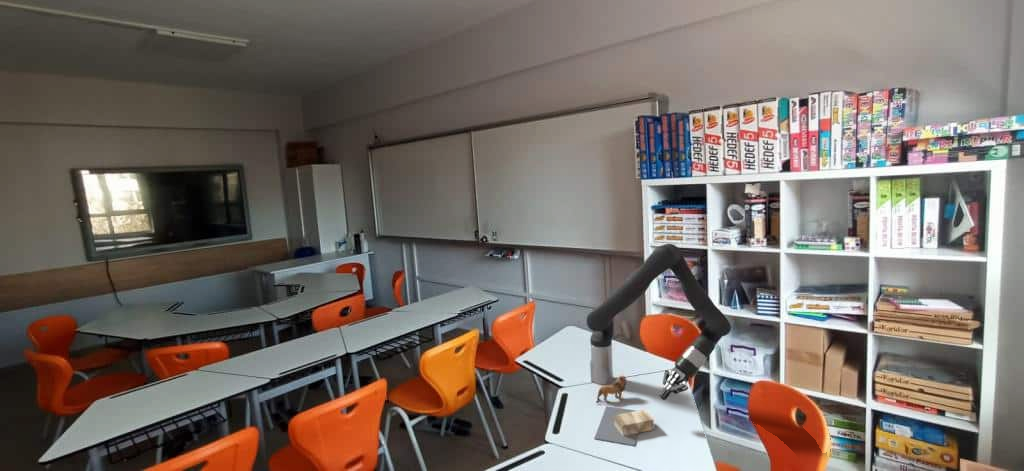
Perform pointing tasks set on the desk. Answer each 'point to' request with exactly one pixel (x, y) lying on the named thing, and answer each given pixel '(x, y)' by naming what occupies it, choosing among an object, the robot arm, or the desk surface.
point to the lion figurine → (613, 389)
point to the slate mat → (613, 428)
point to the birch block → (634, 422)
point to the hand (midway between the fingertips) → (661, 398)
